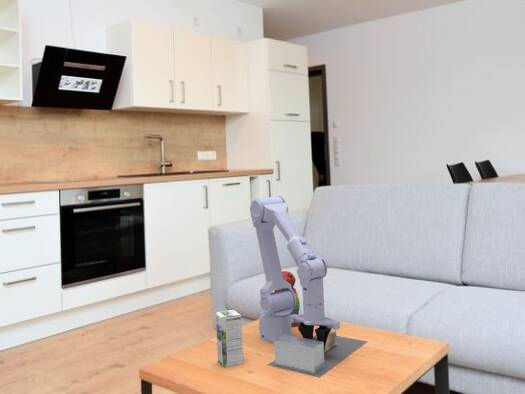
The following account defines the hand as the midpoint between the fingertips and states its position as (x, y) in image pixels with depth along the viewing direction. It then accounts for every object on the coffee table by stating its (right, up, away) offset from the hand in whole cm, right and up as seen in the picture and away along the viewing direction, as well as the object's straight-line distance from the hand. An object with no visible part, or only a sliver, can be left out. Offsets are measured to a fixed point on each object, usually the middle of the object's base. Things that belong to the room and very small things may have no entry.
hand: (315, 351), depth 138 cm
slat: (0, -1, 0) cm, 1 cm away
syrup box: (-23, -4, -1) cm, 24 cm away
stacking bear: (-6, -1, +32) cm, 33 cm away
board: (+1, -2, +2) cm, 3 cm away
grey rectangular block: (-5, -2, -7) cm, 9 cm away
